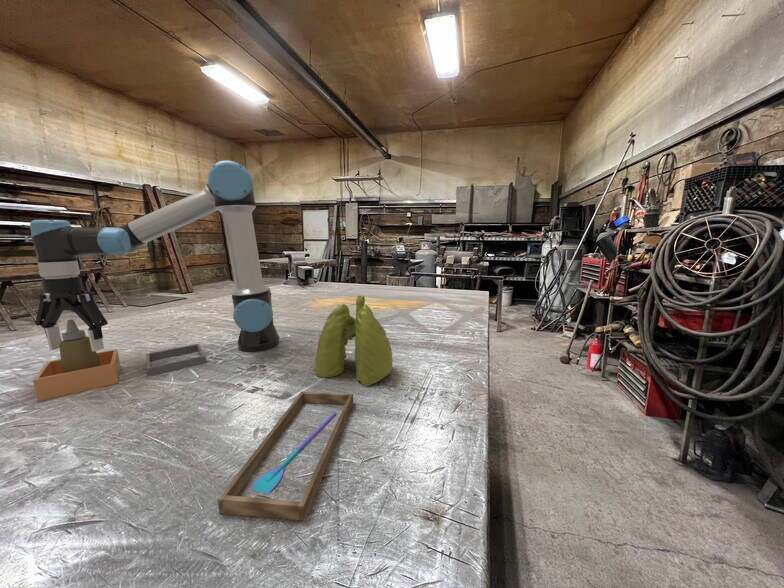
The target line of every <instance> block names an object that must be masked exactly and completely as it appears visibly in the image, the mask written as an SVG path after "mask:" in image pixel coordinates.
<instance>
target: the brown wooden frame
mask: <svg viewBox="0 0 784 588" xmlns="http://www.w3.org/2000/svg"><path fill="white" fill-rule="evenodd" d="M305 403H308V404H309V403H310V404H313V403H314V404H328V405H330V404H331V405H344V406H343V408H342V411H341V412H340V414H339V417H338V418H337V421H336V423H335V426H334V427H333V430H332V432H331V434H330V436H329V439H328V440H327V443H326V445H325V447H324V448H323V452H322V454H321V456H320V458H319V460H318V462H317V464H316V467H315V469H314V471H313V473H312V476H311V478H310V480H309V482H308V483H307V486H306V488H305V491H304V492H303V494H302V497H301V499H300V500H288V499H275V498H265V497H264V498H262V497H251V496H250V497H249V496H240V492H241V491H242V490H243V488H244V487H245V485H246V484H247V483H248V481H249V480H250V478H251V477H252V475H253V474H254V473H255V471H257V468H259V465H260V464H261V463H262V461H263V460H264V459H265V458H266V456H268V455H267V454H268V453H270V451H271V449H272V448H273V446H274V445H275V444H276V442H277V440H278V439H279V438H280V436H281V435H282V434H283V433H284V431H285V429H286V428H287V426H288V425H289V424H290V423H291V421H292V420H293V418H294V417H295V415H296V414H297V413H298V411H299V410H300V408H302V406H303V405H304V404H305ZM353 405H354V394H353V393H337V392H336V393H335V392H313V391H310V392H309V391H300V393H299V394H298V395H297V397H296V398H295V400H294V401H293V402H292V403H291V404H290V406H289V407H288V408H287V409H286V411H285V412H284V414H283V415H282V416H281V417H280V418H279V420H278V421H277V422H276V423H275V425H274V426H273V427H272V429H271V430H270V432H269V433H268V434H267V435H266V436H265V438H264V439H263V441H261V442H260V444H259V445H258V447H257V448H256V449H255V450H254V451H253V453H252V454H251V455H250V457H249V458H248V460H247V461H246V462H245V463H244V464H243V466H241V468H240V470H239V471H238V472H237V473H236V475H235V476H234V477H233V479H232V480H231V481H230V483H229V484H228V485H227V486H226V488H225V489H224V490H223V491H222V493H221V494H220V495H219V497H218V498H217V505H218V513H219V514H226V515H236V516H237V515H239V516H248V517H249V516H250V517H260V518H270V519H271V518H272V519H282V520H292V521H294V520H295V521H305V520H306V518H307V516H308V512H309V511H310V508H311V506H312V503H313V501H314V499H315V497H316V494H317V492H318V490H319V487H320V484H321V482H322V479H323V477H324V474H325V472H326V469H327V468H328V464H329V463H330V461H331V458H332V456H333V453H334V450H335V448H336V446H337V443H338V441H339V438H340V436H341V434H342V431H343V429H344V427H345V425H346V421H347V420H348V416H349V414H350V412H351V409H352V407H353ZM238 495H239V496H238Z"/></svg>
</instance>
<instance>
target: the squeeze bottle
mask: <svg viewBox="0 0 784 588" xmlns="http://www.w3.org/2000/svg"><path fill="white" fill-rule="evenodd" d="M61 339H62V342H61V343H59V347H60V348H59V355H60V359H61V366H62V373H67V372H72V371H77V370H82V369H87V368H92V367H98V366H100V360H99V358H98V355H97V353H98V352H97V351H95V352H92V349H91V344H90V340H89V336H87V335H86V330H84V329H79V327H78V326H77V324H76V322H75V320H74V319H68V320H67V321H66V332H63V333H61Z"/></svg>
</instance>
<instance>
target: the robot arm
mask: <svg viewBox="0 0 784 588" xmlns="http://www.w3.org/2000/svg"><path fill="white" fill-rule="evenodd" d="M256 207H257V206H256V200H255V194H254V184H253V179H252V176H251V174H250V171H249V170H247V169H246V167H244V166H243V165H242V164H240V163H238V162H236V161H234V160H220V161H218V162H216V163H214V164H213V165H212V166H211V167H210V168H209V171H208V174H207V184H205V185H204V188H203V189H201V190H198V192H195V193H192V194H190V195H188V196H185V197H183V198H182V199H180V200H179V199H178V200H177V201H174V202H172V203H169V204H167V205H166V206H163V207H161V208H159V209H156V210H154V211H152V212H150V213H148V214H145V215H143V216H140V217H139V218H136V219H133V220H131V221H129V222H127V223H125V224H123V225H120V226H118V227H113V226H112V227H110V226H107V227H74V226H72V225H71V223H70V221H68V220H63V219H33V220H31V221H30V223H29V227H30V234H31V236H30V238H31V239H32V243H33V247H34V251H35V255H36V259H37V261H36V262H37V266H38V271H39V277H42V278H43V279H42V280H41V282H42V283H41V284H42V287H43V292H44V293H42V294H39V296H38V297H39V304H38V310H37V313H36V319H35V322H34V323H35V325H36V326H37V327H38V326H40V327H41V328H42V329H44V333H45V337H46V340H47V343H48V347H49V351H54V350H58V349H60V347H59V343H61V342H62V341H63V339H62V334H61V331H60V327H59V324H58V323H57V322H58V321H59V319H60V317H61V315H62V314H63V311H65V310H66V311H70V312H72V313H75V314H76V315H77V316H78V317H79V318H80V320H82V321H83V323H85V325H86V326H87V327H88V329H87V335H88V337H89V340H90V344H91V349H92V352H95V351H96V352H97V351H100V350H102V349H105V345H104V341H103V338H104V335H103V331H102V328H103V327H104V326H107V325H108V324H109V323H108V321H107V319H106V317H105V316H104V314H103V313H102V311H101V310H100V309H99V307H98V305H97V304H96V302H95V301H94V296H93V294H92V293H91V292H90V293H89V292H88V293H83V294H82V293H81V290H82V289H83V288H84V284H83V280H82V277H81V276H79V275H80V274H81V271H80V267H79V262H78V256H84V255H87V256H88V255H90V256H91V255H111V256H113V255H120V254H121V255H122V254H123V255H124V254H128V253H131V252H134V251H136V250H137V249H139V248H140V247H141V246H143V245H144V244H145V245H146V244H147V243H149V242H152V241H154V240H155V239H159V238H160V237H163V236H164V235H165V236H166V234H169V233H171V232H173V231H175V230H178V229H180V228H183V227H184V226H186V225H188V224H191V223H193V222H195V221H197V220H200V219H201V218H204V217H206V216H208V215H210V214H213V213H215V212H216V211H218V212H220V213H221V216H222V221H223V226H224V233H225V237H226V243H227V248H228V254H229V260H230V265H231V271H232V275H233V277H232V278H233V281H234V290H232V292H231V298H232V299H231V300H232V304H233V315H232V316H233V320H234V323H235V325H236V326H237V327H238V328H239V329H240V331H239V335H238V339H237V349H238V350H240V351H242V352H261V351H265V350H269V349H272V348H276V347H277V346H278V345H279V344H280V342H281V341H280V336H279V333H278V332H277V331H278V330H277V329H276V326H275V325H274V313H273V304H272V303H273V302H272V290H271V288H270V287H268V286H266V285H265V284H264V280H263V277H262V268H261V263H260V257H259V251H258V250H259V248H258V244H257V238H256V237H257V236H256V232H255V226H254V220H253V219H254V218H253V212H254V211H255V209H256Z"/></svg>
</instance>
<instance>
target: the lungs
mask: <svg viewBox="0 0 784 588" xmlns="http://www.w3.org/2000/svg"><path fill="white" fill-rule="evenodd" d="M365 303H366V298H365V295H358V296H357V297H356V299H355V318H354V317H353V316H352V315H350V309H349V307H348V305H347V304H346V303H342V304H339V305H338V306H336V307H335V308H334V309H333V310H332V311H331V312H330V313H329V315H328V316H327V318H326V320H325V323H324V325H323V327H322V331H321V332H320V334H319V339H318V342H317V348H316V350H315V351H316V352H315V358H314V364H315V367H314V373H315V374H316V376H317V377H320V378H323V379H324V378H334V377H337V376H339V375H341V374H342V373H343V372H344V369H345V362H346V358H347V352H346V345H348V344H349V343H348V342H349V341H351V340H353V339H354V360H355V373H356V380H357V382H360V383H361V384H362V385H363V386H364V387H370V386H372V385H373V384H376V383H377V382H380V381H381V380H382V379H384V378H385V377H387V376H388V375H389V374H390V373H391V371H392V370H393V362H394V359H393V352H392V349H393V348H392V346H391V342H390V339H389V338H388V336H387V333H386V330H385V328H384V327H383V325H382V324H381V323H380V322H379V321H378V319H377V318H376V317H375V315H374V313H373V311H372V309H371V308H370V307H369V305H367V304H365Z"/></svg>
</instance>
